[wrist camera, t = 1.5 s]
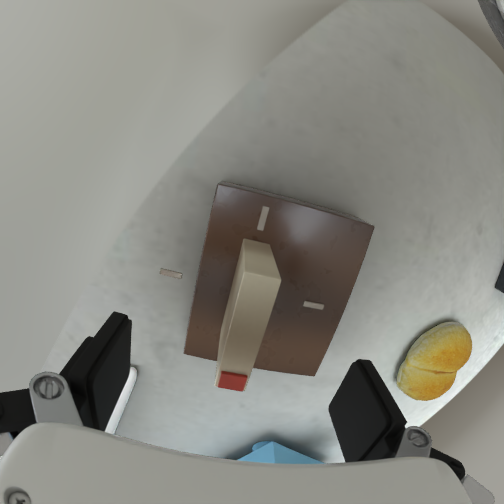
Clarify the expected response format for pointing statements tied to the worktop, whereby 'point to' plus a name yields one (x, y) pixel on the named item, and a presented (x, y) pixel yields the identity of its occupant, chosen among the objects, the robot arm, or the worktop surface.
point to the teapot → (276, 454)
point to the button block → (500, 281)
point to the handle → (246, 314)
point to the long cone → (122, 402)
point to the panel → (290, 269)
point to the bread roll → (434, 361)
